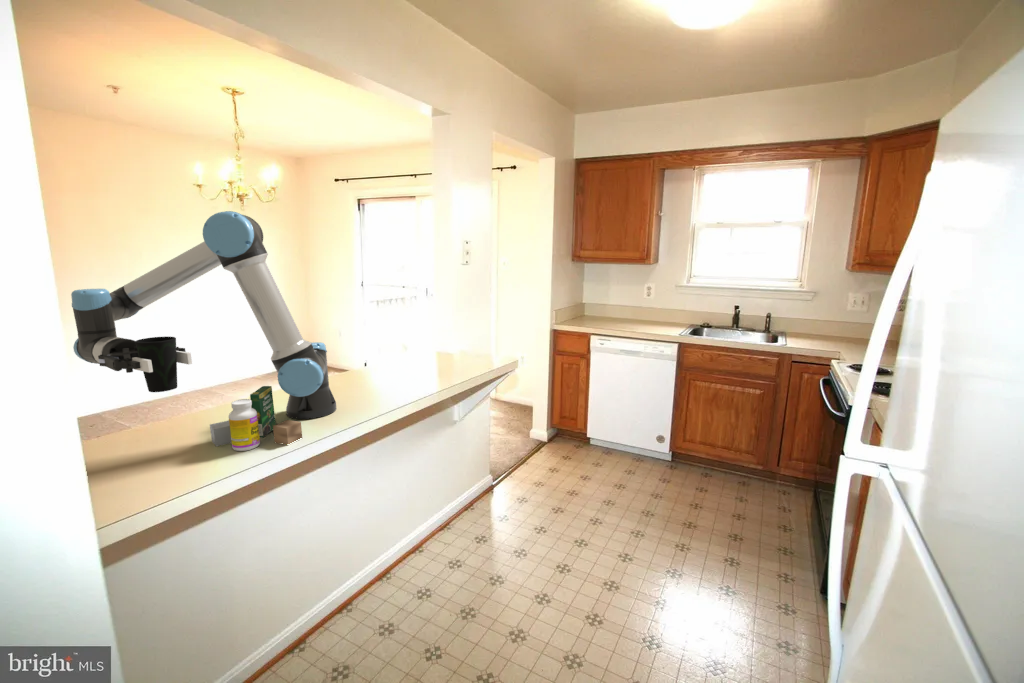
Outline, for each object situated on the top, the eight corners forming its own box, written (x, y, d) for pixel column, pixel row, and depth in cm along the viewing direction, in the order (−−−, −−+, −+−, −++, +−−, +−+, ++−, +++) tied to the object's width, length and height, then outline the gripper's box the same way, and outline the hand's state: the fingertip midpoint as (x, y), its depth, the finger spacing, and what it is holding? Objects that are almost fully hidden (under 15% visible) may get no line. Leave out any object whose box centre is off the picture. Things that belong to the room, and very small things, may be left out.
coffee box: (264, 438, 133) (259, 393, 130) (253, 438, 133) (248, 393, 130) (277, 427, 141) (272, 385, 138) (267, 427, 141) (262, 385, 138)
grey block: (232, 436, 134) (230, 420, 133) (236, 441, 131) (234, 424, 130) (211, 441, 131) (209, 424, 130) (216, 446, 127) (213, 429, 126)
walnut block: (289, 436, 134) (287, 419, 133) (302, 438, 132) (300, 422, 131) (274, 442, 130) (272, 425, 129) (288, 445, 128) (286, 428, 127)
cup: (189, 384, 116) (183, 336, 113) (168, 393, 108) (161, 342, 106) (158, 384, 115) (150, 336, 113) (134, 393, 108) (126, 342, 105)
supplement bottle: (255, 451, 124) (249, 404, 122) (228, 452, 123) (222, 406, 121) (264, 441, 131) (259, 397, 128) (238, 442, 130) (233, 398, 127)
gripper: (166, 358, 128) (217, 368, 118) (70, 376, 110) (120, 389, 100) (162, 331, 126) (213, 338, 116) (64, 345, 109) (114, 355, 98)
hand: (170, 362), depth 108 cm, fingers closed on cup, 8 cm apart
